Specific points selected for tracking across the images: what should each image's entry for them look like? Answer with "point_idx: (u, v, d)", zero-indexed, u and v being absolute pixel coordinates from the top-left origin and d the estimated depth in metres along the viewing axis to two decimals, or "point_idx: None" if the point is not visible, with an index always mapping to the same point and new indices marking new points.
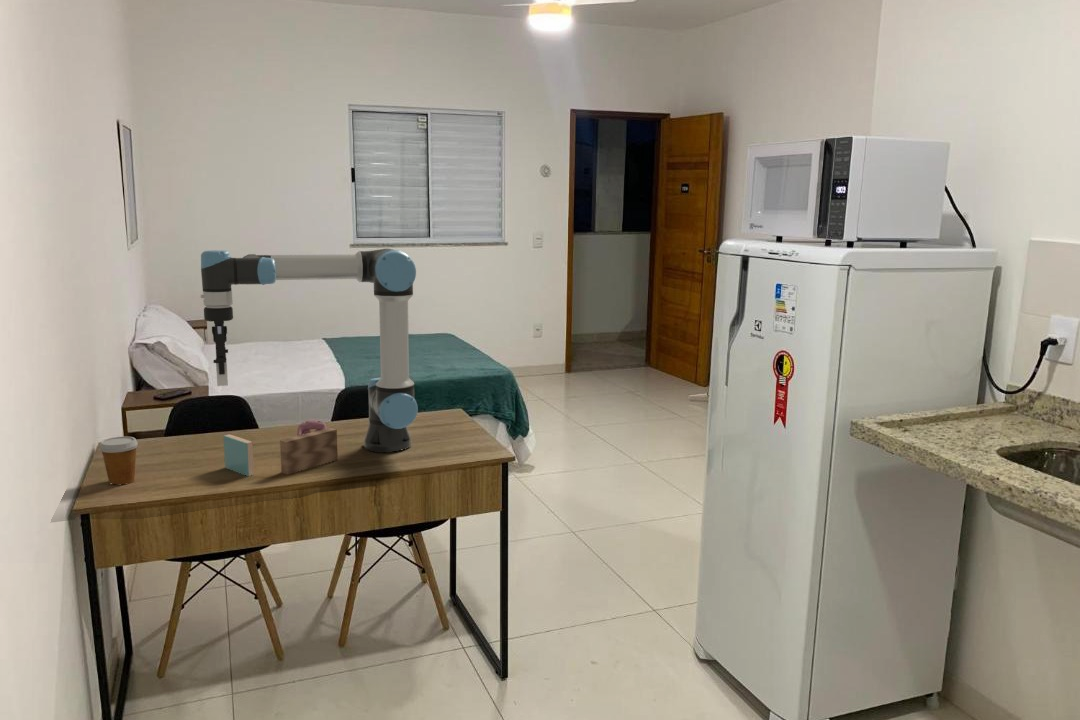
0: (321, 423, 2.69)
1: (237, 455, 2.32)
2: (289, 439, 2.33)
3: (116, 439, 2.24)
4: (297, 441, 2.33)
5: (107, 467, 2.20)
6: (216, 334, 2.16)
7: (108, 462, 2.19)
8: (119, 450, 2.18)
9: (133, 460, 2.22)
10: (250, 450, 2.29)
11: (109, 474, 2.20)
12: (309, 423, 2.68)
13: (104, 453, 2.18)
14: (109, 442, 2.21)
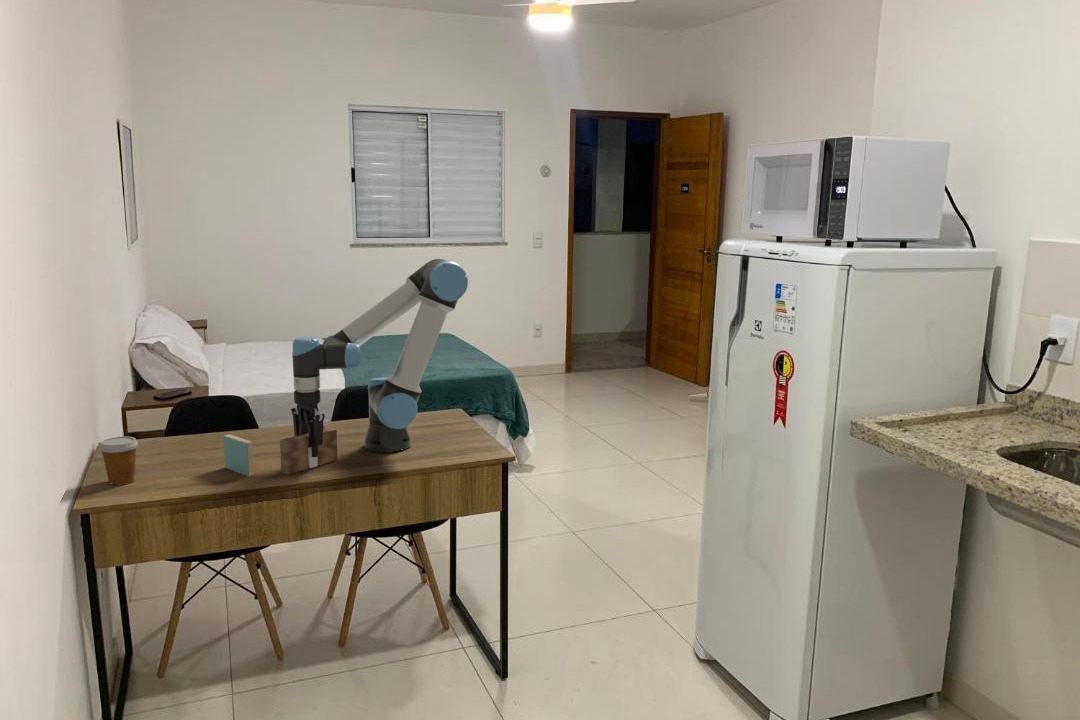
0: None
1: (237, 455, 2.32)
2: (289, 439, 2.33)
3: (116, 439, 2.24)
4: (297, 441, 2.33)
5: (107, 467, 2.20)
6: (317, 422, 2.33)
7: (108, 462, 2.19)
8: (119, 450, 2.18)
9: (133, 460, 2.22)
10: (250, 450, 2.29)
11: (109, 474, 2.20)
12: None
13: (104, 453, 2.18)
14: (109, 442, 2.21)
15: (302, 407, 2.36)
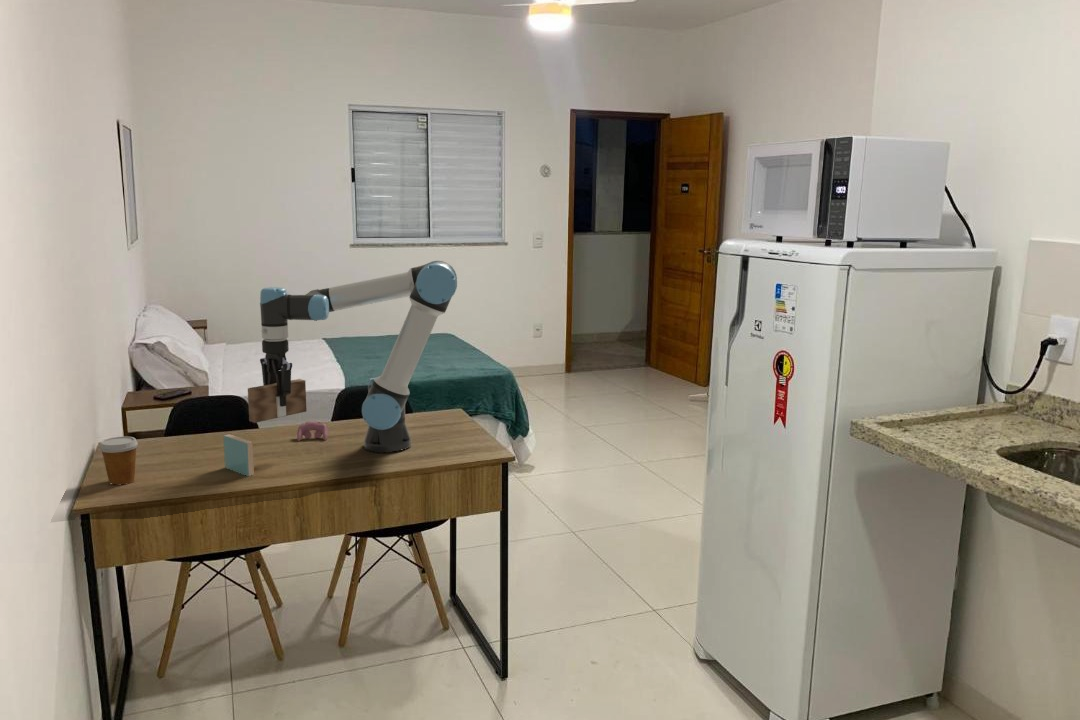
0: (321, 424, 2.68)
1: (237, 455, 2.32)
2: (257, 387, 2.35)
3: (116, 439, 2.24)
4: (265, 389, 2.36)
5: (107, 467, 2.20)
6: (285, 371, 2.35)
7: (108, 462, 2.19)
8: (119, 450, 2.18)
9: (133, 460, 2.22)
10: (250, 450, 2.29)
11: (109, 474, 2.20)
12: (309, 424, 2.67)
13: (104, 453, 2.18)
14: (109, 442, 2.21)
15: (270, 357, 2.39)
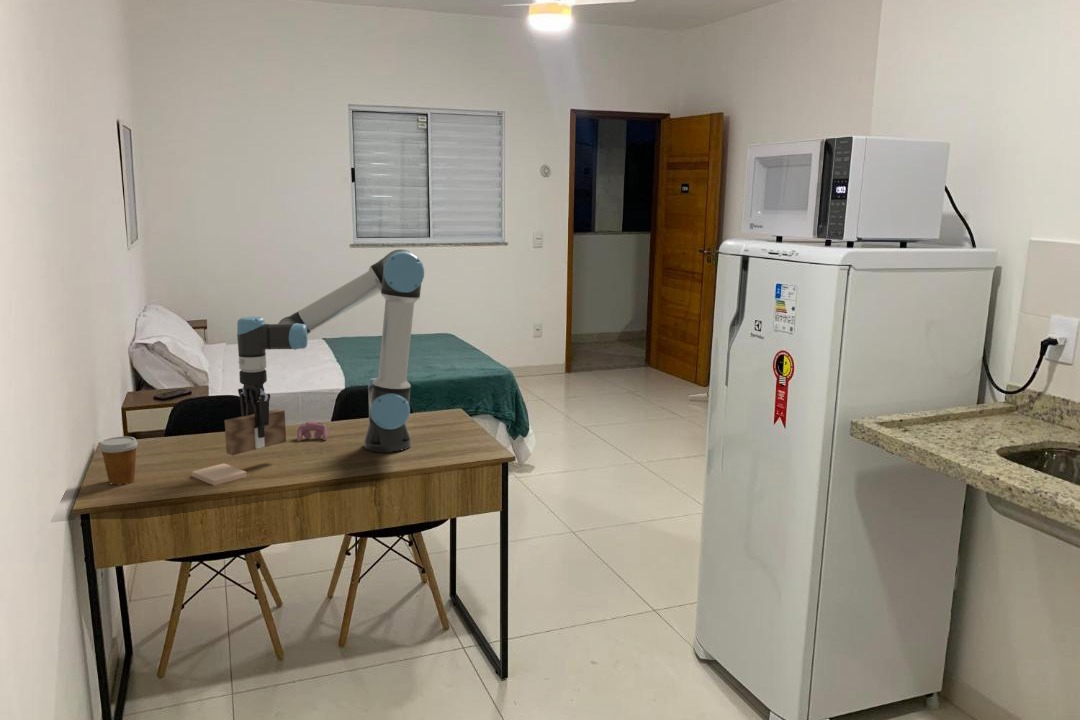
0: (321, 424, 2.68)
1: None
2: (234, 419, 2.31)
3: (116, 439, 2.24)
4: (242, 421, 2.31)
5: (107, 467, 2.20)
6: (263, 402, 2.31)
7: (108, 462, 2.19)
8: (118, 450, 2.18)
9: (133, 460, 2.22)
10: (222, 481, 2.23)
11: (109, 474, 2.20)
12: (309, 424, 2.67)
13: (104, 453, 2.18)
14: (109, 442, 2.21)
15: (248, 387, 2.34)
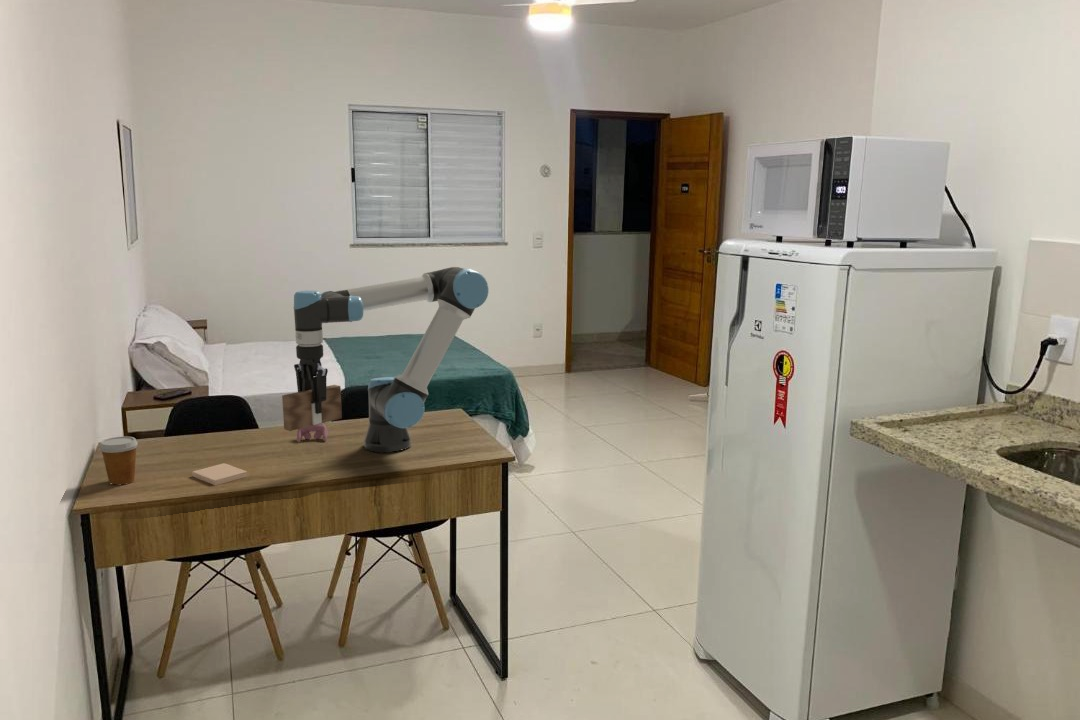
0: (321, 425, 2.67)
1: None
2: (291, 394, 2.28)
3: (116, 439, 2.24)
4: (300, 396, 2.28)
5: (107, 467, 2.20)
6: (320, 377, 2.27)
7: (108, 462, 2.19)
8: (118, 450, 2.18)
9: (133, 460, 2.22)
10: (223, 480, 2.24)
11: (109, 474, 2.20)
12: None
13: (104, 453, 2.18)
14: (109, 442, 2.21)
15: (305, 362, 2.31)
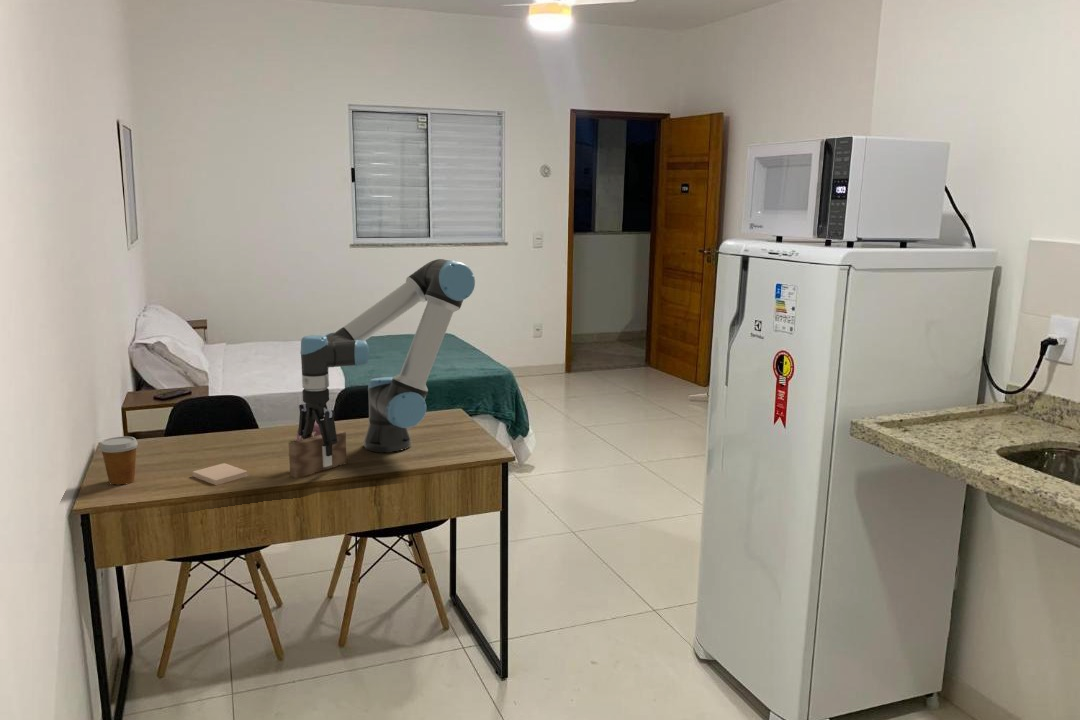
0: None
1: None
2: (298, 442, 2.30)
3: (116, 439, 2.24)
4: (306, 443, 2.30)
5: (107, 467, 2.20)
6: (328, 419, 2.29)
7: (108, 462, 2.19)
8: (119, 450, 2.18)
9: (133, 460, 2.22)
10: (223, 480, 2.24)
11: (109, 474, 2.20)
12: None
13: (104, 453, 2.18)
14: (109, 442, 2.21)
15: (311, 408, 2.33)
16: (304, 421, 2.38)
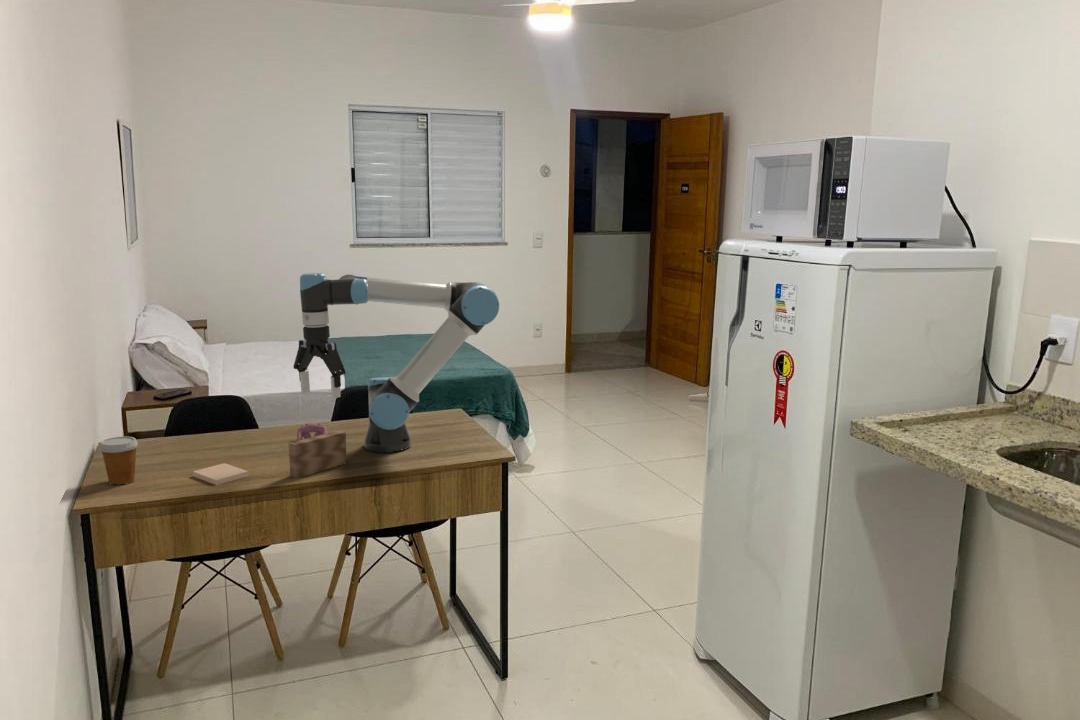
0: (321, 426, 2.66)
1: None
2: (298, 442, 2.30)
3: (116, 439, 2.24)
4: (306, 444, 2.30)
5: (107, 467, 2.20)
6: (331, 350, 2.33)
7: (108, 462, 2.19)
8: (119, 450, 2.18)
9: (133, 460, 2.22)
10: (224, 480, 2.24)
11: (109, 474, 2.20)
12: (309, 426, 2.65)
13: (104, 453, 2.18)
14: (109, 442, 2.21)
15: None
16: (301, 356, 2.41)
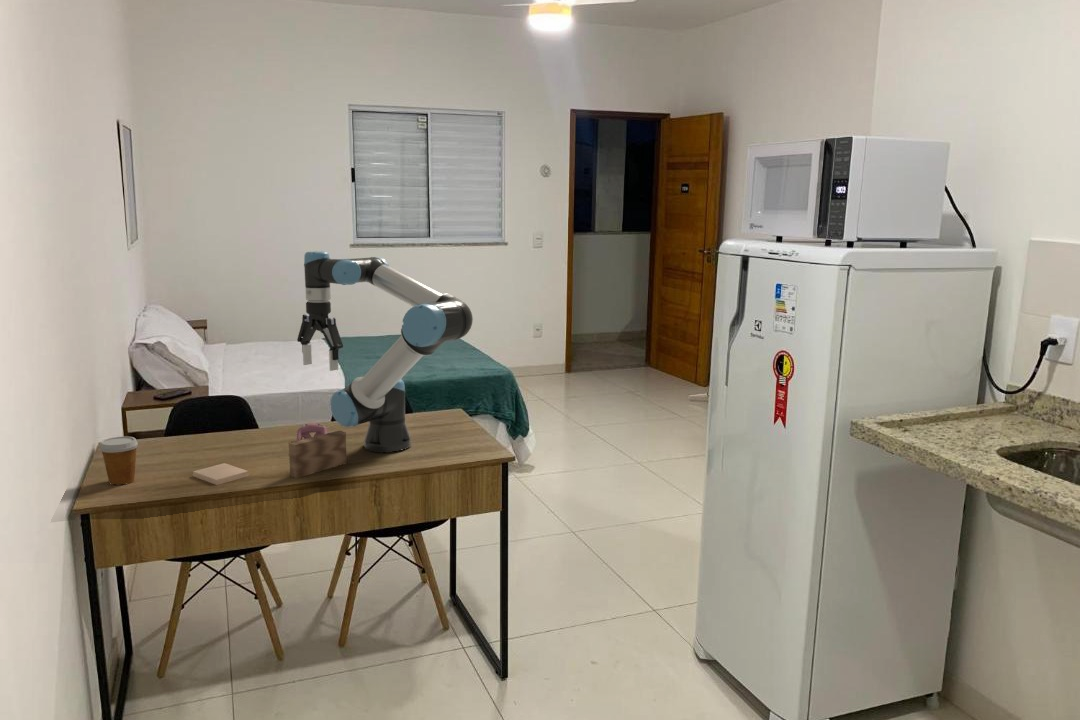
0: (321, 426, 2.66)
1: None
2: (298, 442, 2.30)
3: (116, 439, 2.24)
4: (306, 444, 2.30)
5: (107, 467, 2.20)
6: (330, 325, 2.46)
7: (108, 462, 2.19)
8: (119, 450, 2.18)
9: (133, 460, 2.22)
10: (224, 480, 2.24)
11: (109, 474, 2.20)
12: (309, 426, 2.65)
13: (104, 453, 2.18)
14: (109, 442, 2.21)
15: None
16: (305, 330, 2.55)
